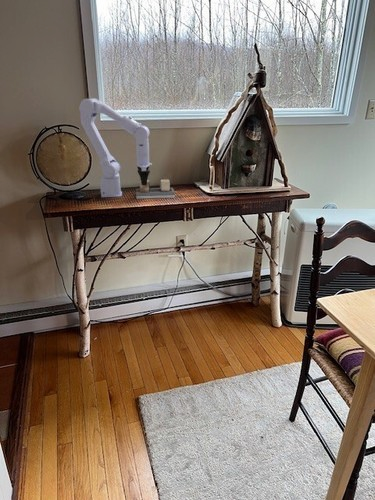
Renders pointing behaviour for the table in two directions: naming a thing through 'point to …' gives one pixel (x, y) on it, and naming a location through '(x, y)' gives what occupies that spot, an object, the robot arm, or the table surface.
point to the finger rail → (157, 191)
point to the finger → (145, 187)
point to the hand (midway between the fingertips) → (144, 183)
